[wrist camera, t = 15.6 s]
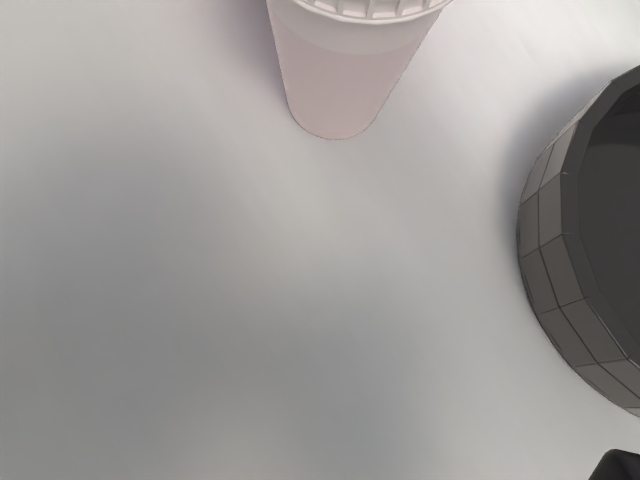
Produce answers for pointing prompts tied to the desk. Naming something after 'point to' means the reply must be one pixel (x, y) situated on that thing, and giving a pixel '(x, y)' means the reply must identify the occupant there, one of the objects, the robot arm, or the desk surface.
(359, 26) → the smoothie
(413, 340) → the desk surface
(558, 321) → the pan
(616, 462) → the robot arm
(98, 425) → the desk surface
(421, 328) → the desk surface
